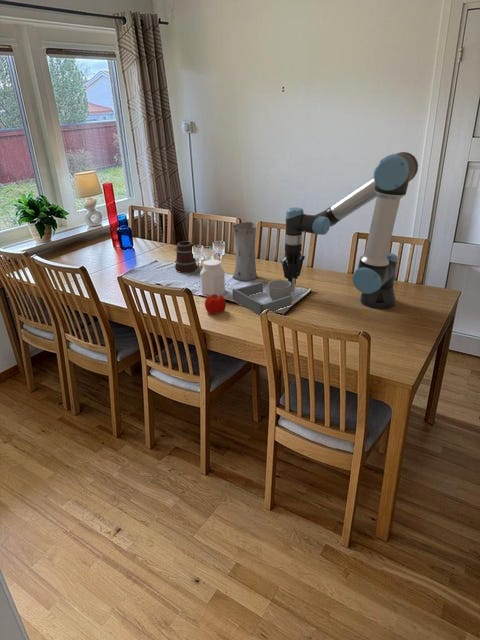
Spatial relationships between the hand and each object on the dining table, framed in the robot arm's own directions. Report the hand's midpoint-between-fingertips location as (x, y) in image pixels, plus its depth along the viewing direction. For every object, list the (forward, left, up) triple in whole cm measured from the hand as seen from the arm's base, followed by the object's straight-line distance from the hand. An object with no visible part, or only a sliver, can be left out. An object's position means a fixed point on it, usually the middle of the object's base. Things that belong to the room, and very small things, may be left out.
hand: (291, 291), depth 209 cm
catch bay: (+1, +17, -2) cm, 17 cm away
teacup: (0, +7, -2) cm, 7 cm away
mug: (+64, +21, -2) cm, 67 cm away
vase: (+32, +5, -2) cm, 32 cm away
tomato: (+5, +39, -2) cm, 39 cm away
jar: (+26, +28, -2) cm, 38 cm away
